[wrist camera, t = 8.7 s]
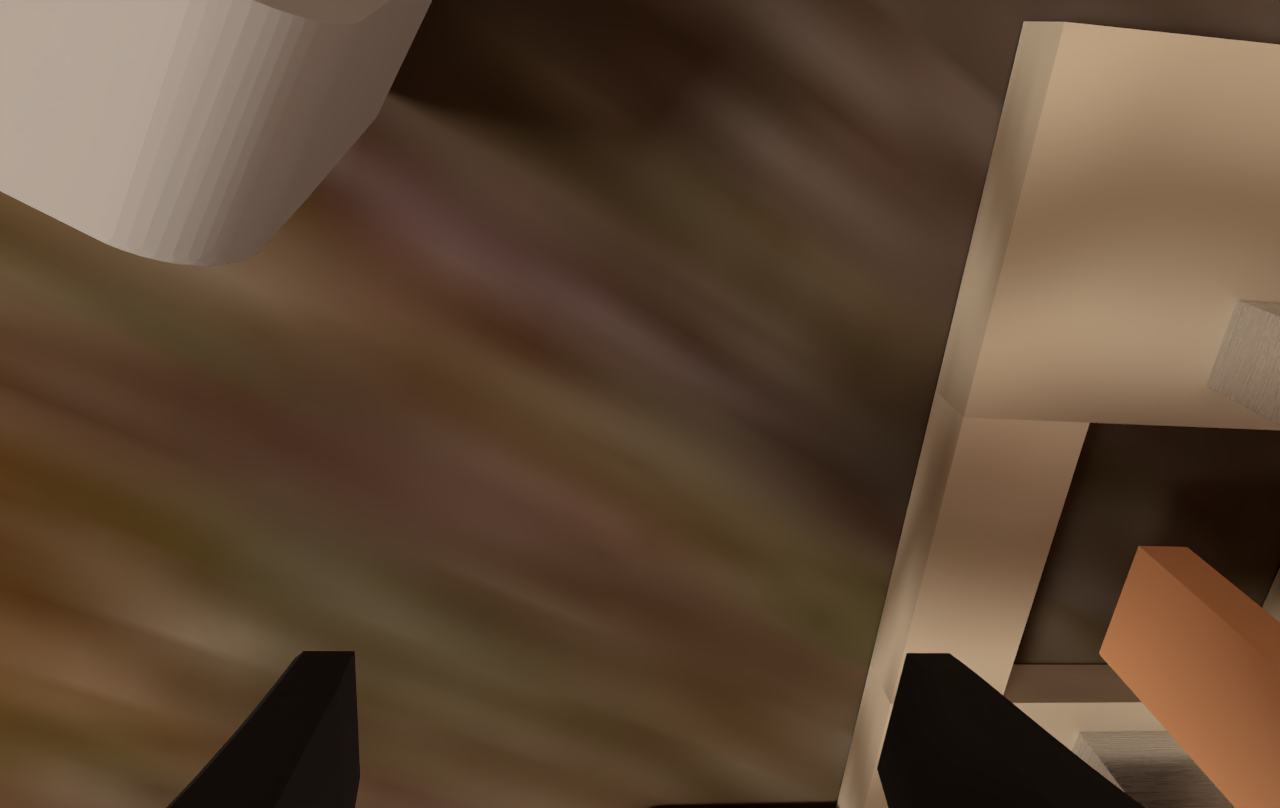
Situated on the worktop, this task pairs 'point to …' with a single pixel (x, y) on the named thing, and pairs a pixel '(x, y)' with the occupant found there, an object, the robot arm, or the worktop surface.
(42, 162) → the wall hook
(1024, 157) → the shelf board
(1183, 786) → the grey rod with blocks
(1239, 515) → the worktop surface
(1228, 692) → the notched orange block
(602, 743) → the worktop surface
